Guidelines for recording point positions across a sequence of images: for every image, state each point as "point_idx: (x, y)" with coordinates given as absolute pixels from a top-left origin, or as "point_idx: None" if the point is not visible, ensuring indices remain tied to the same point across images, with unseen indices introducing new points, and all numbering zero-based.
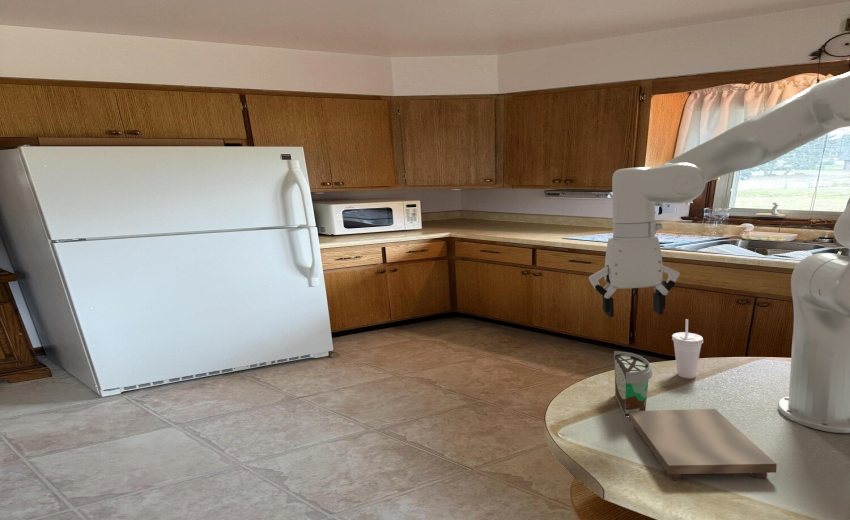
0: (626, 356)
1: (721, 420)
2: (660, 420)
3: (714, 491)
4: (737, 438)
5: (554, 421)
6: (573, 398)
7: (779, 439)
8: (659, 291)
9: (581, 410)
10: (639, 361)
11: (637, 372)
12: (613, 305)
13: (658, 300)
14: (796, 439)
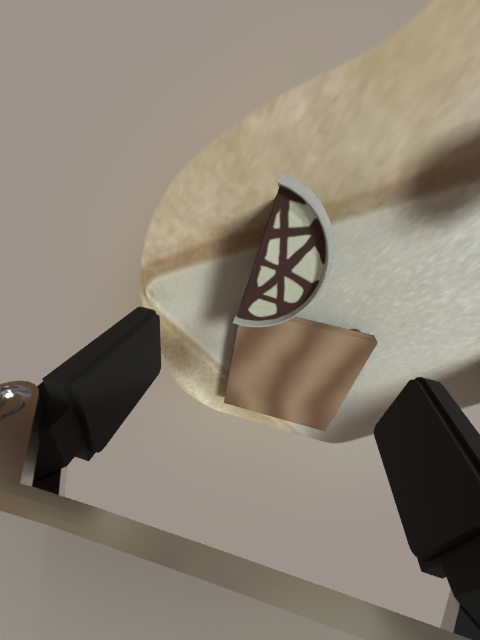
0: (303, 212)
1: (351, 367)
2: (269, 343)
3: None
4: (330, 397)
5: (146, 260)
6: (193, 186)
7: (411, 378)
8: (457, 610)
9: (194, 238)
10: (317, 253)
11: (258, 325)
12: (126, 417)
13: (407, 507)
14: None
